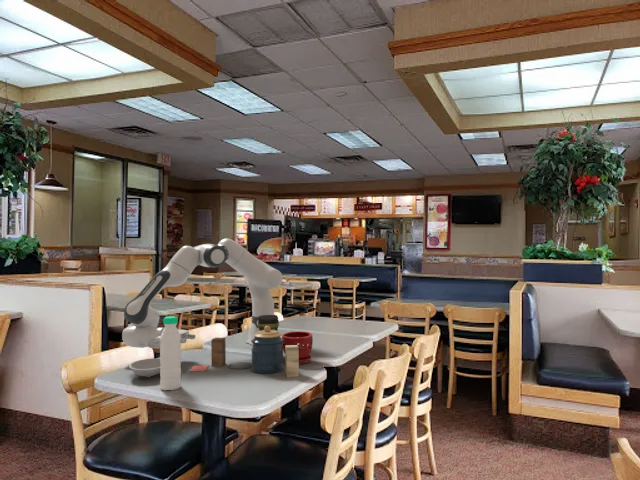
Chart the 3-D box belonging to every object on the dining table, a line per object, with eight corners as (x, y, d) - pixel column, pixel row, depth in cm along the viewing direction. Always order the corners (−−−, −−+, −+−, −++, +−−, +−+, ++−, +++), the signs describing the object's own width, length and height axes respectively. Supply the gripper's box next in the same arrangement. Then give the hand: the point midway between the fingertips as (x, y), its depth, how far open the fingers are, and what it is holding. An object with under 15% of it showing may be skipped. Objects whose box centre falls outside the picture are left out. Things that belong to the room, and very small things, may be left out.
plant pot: (282, 358, 212) (282, 331, 212) (311, 357, 213) (311, 330, 213) (281, 366, 199) (281, 337, 199) (313, 365, 200) (313, 336, 200)
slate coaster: (233, 362, 205) (233, 361, 205) (255, 363, 203) (255, 362, 203) (225, 368, 195) (225, 367, 195) (248, 369, 193) (248, 368, 193)
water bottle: (164, 385, 172) (164, 315, 173) (183, 385, 172) (183, 315, 172) (157, 391, 165) (156, 318, 166) (177, 391, 165) (177, 318, 165)
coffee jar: (278, 353, 222) (278, 313, 222) (280, 357, 214) (279, 315, 214) (257, 354, 220) (257, 314, 220) (258, 358, 212) (257, 316, 212)
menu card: (193, 367, 200) (193, 365, 200) (208, 367, 200) (208, 365, 200) (190, 373, 191) (190, 371, 191) (205, 372, 191) (205, 370, 191)
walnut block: (215, 363, 204) (215, 337, 204) (225, 363, 203) (225, 337, 204) (211, 366, 200) (211, 339, 200) (221, 366, 199) (221, 339, 199)
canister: (250, 366, 198) (250, 323, 198) (281, 364, 201) (281, 322, 201) (252, 375, 185) (252, 329, 185) (285, 372, 188) (285, 327, 188)
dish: (132, 372, 191) (132, 359, 191) (170, 369, 194) (170, 357, 194) (125, 384, 173) (125, 370, 174) (167, 381, 177) (167, 368, 177)
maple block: (285, 373, 186) (285, 345, 187) (296, 373, 187) (296, 344, 188) (287, 376, 182) (286, 347, 182) (298, 376, 183) (298, 347, 183)
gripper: (147, 334, 195) (179, 335, 193) (170, 326, 215) (199, 327, 213) (147, 350, 195) (179, 351, 193) (170, 340, 215) (199, 341, 213)
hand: (190, 338), depth 203 cm, fingers open, 8 cm apart
